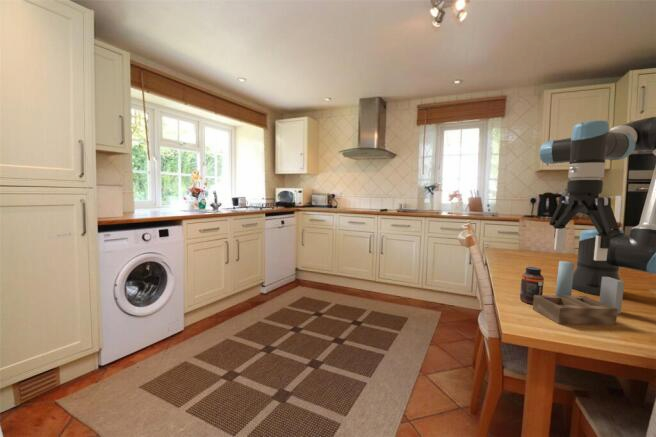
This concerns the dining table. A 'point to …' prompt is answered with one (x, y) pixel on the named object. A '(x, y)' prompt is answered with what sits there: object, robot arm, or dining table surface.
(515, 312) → the dining table surface
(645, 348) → the dining table surface
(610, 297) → the grey rectangular block
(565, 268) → the dowel bit
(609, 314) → the socket block
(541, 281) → the supplement bottle
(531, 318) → the dining table surface
